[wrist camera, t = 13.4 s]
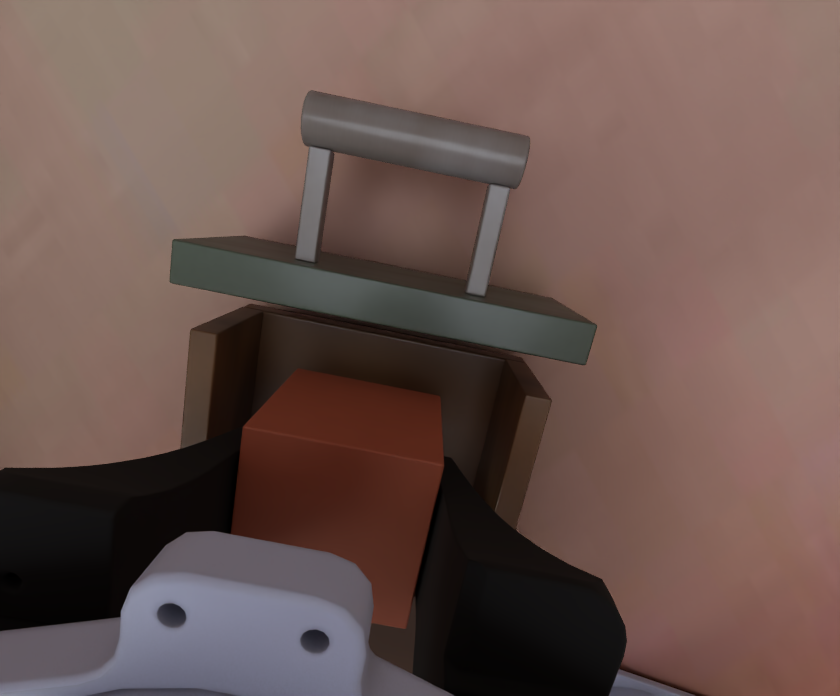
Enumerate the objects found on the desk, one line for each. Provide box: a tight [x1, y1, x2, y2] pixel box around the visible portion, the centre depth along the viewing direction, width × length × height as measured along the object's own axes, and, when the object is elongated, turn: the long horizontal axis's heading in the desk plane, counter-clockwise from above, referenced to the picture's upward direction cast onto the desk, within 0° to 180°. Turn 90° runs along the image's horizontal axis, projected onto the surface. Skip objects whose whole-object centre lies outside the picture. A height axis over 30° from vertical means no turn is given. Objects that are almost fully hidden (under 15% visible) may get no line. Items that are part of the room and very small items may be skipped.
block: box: [230, 368, 444, 629], centre depth 13 cm, size 4×4×4 cm
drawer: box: [170, 90, 597, 529], centre depth 16 cm, size 17×12×5 cm
